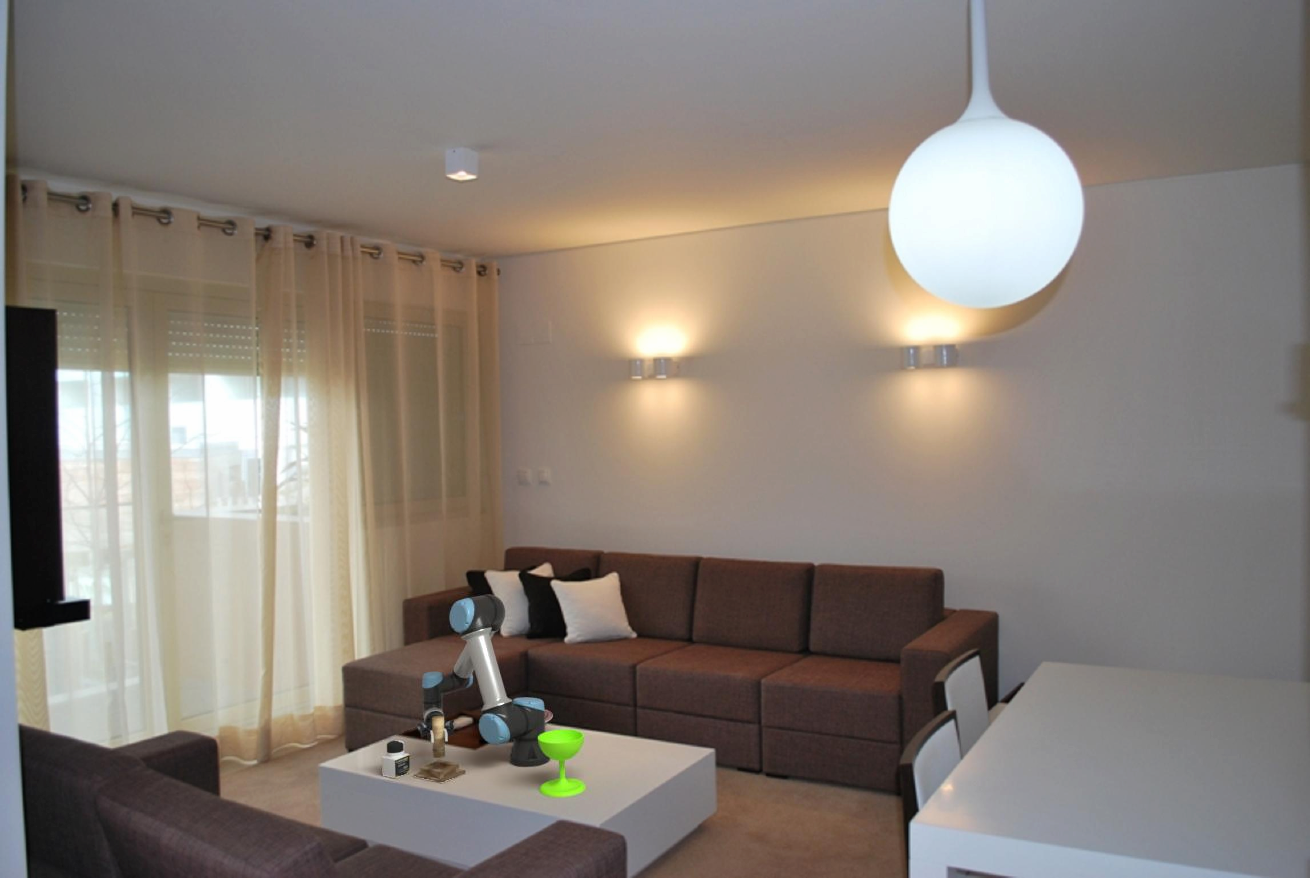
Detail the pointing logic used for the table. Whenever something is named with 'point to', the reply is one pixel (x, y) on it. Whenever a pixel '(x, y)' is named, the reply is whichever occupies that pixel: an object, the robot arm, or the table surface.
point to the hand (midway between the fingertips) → (439, 738)
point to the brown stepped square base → (440, 771)
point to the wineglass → (561, 760)
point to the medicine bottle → (395, 760)
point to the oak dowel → (438, 736)
